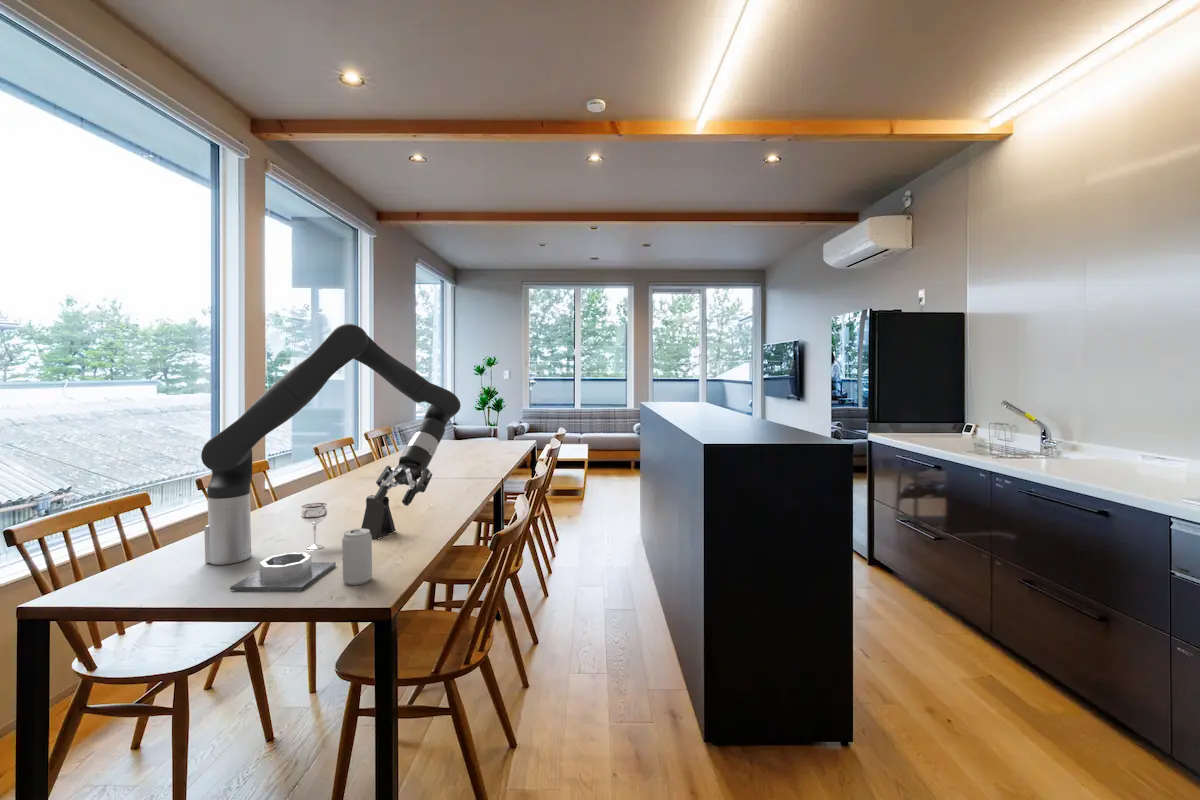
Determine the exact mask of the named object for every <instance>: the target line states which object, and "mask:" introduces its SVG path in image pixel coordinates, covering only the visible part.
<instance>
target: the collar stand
mask: <svg viewBox="0 0 1200 800" xmlns="http://www.w3.org/2000/svg"><path fill="white" fill-rule="evenodd" d="M336 566H337V565H336V561H329V562H326V561H324V562H322V561H316V562H315V561H312V556H311V555H309V553H307V552H285V553H280V554H276V555H270V556H269V557H267V558H265V559H264V560H262V561H260V562H259V569H258V570H257V571H255V572H253V573H252V574H249V575H248V576H247V577H245V578H243V579H242V580H239V581H238V582H236V583H234V584H232V585H231V586H230V587H229V590H234V591H233V592H302V591H304V590H306V589H307V588H308V587H310V586H311V585H312V584H314V583H315V582H316V581H317V579H318V580H319V579H320V578H322V577H323V576H325V573H326V574H327V573H328V572H330V571H331V570H332V569H335V567H336ZM314 581H315V582H314Z"/></svg>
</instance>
